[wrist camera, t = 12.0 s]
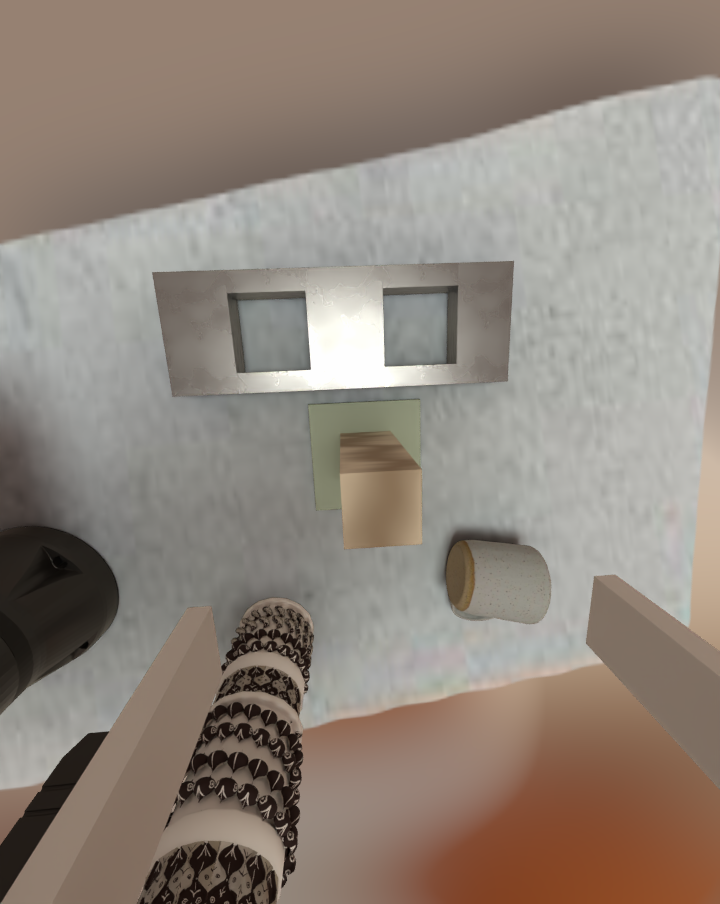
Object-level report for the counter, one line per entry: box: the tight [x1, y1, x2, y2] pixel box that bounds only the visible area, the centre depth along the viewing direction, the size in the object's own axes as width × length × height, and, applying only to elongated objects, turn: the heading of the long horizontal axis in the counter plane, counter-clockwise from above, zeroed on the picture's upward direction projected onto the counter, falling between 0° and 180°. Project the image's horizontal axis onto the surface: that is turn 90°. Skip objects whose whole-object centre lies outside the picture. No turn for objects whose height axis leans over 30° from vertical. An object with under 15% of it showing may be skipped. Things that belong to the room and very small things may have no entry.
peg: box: [340, 431, 422, 549], centre depth 28 cm, size 5×5×14 cm
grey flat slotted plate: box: [152, 261, 514, 397], centre depth 31 cm, size 30×10×3 cm, turn 92°
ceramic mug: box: [446, 540, 551, 624], centre depth 36 cm, size 11×8×8 cm
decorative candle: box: [137, 597, 314, 904], centre depth 28 cm, size 9×9×25 cm
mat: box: [308, 399, 420, 511], centre depth 35 cm, size 11×11×1 cm
